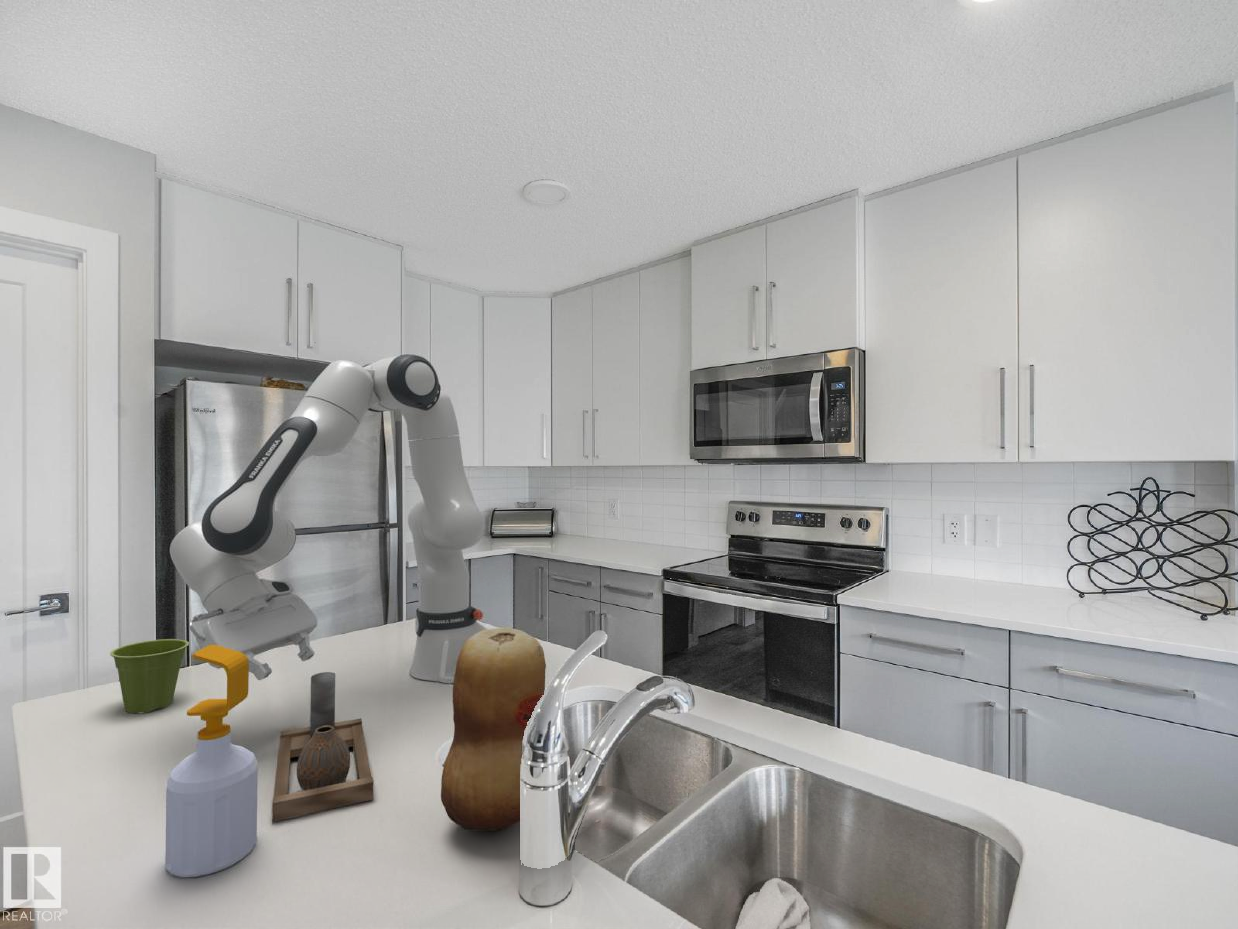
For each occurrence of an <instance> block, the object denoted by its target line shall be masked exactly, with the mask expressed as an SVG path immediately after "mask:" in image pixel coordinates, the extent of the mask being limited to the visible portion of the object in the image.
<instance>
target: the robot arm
mask: <svg viewBox="0 0 1238 929" xmlns="http://www.w3.org/2000/svg"><path fill="white" fill-rule="evenodd" d="M453 405H454V404H453V403H452V400H451V397H450V396H449V394H448V393H447V392H445V391H443V390H442V389H441V384H440V381H439V377H438V373H437V371H436V370H435V368H434V366H433V365H432V363H431V362H430V361H429V360H428V359H426V358H425V357H423V356H420V355H417V354H400V355H396V356H388V357H383V358H382V359H380V360H378V361H375V362H372V363H367V364H364V365H363V366H362V365H360V364H358V363H356V362H354V361H350V360H346V359H339V360H335V361H333V362H331V363H329V364H328V365H327V366H326V367H325V368H324V370H322V371H321V373H320V374H319V375H318V376H317V377H316V379H315V380H314V382H312V384H311V385H310V386H309V388H308V390H307V391H306V392H305V394H304V395H303V398H302V399H301V400H300V402H299V403H298V405H297V407H296V409H295V410H294V411H293V413H292V414H291V416H290V417H289V418H288V419H286V420H285V421H283V422H282V423H281V424H280V425H279V426H278V427H277V428H276V430H275V431H274V432H273V433H272V434H271V435H270V437H269V438H268V439H267V441H266V442H265V443H264V444H263V446H262V447H261V448H260V450H259V451H258V453H257V454H256V455H255V457H253V459H252V461H251V462H250V463H249V464H248V466H247V467H246V469H245V470H244V471H243V473H242V474H241V475H240V476H239V478H238V479H237V480H236V481H235V482H234V484H231V486H230V487H229V488H228V489H226V490H225V491H224V492H222V493H221V494H219V496H218V497H216V498H215V499H214V500H213V501H211V503H210V504H209V505H208V506H207V508H206V509H205V511H204V513H203V516H202V519H201V520H199V521H195V522H192V523H191V524H189V525H187V526H186V527H184V528H183V529H181V530H180V531H179V532H178V533H177V534H176V535H175V536H174V538H173V539H172V540H171V543H170V546H169V555H170V559H171V560H172V562H173V565H174V567H175V569H176V570H177V572H178V573H179V575H180V577H181V578H182V580H183V581H184V582H185V584H186V585H187V587H188V588H189V589H190V590H192V591H193V592H195V593H196V594H197V596H199V598H200V603H201V605H202V607H203V608H204V609H205V610H206V613H200V614H196V615H195V616H193V617H192V619H191V620H190V621H189V625H188V627H189V628H188V629H189V630H190V632H191V633H192V635H193V636H194V637H195V641H196V643H197V645H198V648H199V650H200V649H202V648H204V647H206V646H208V645H218V646H221V647H225V648H228V649H232V650H236V651H239V652H241V653H243V654H245V655H246V656H247V658H248V661H249V673H251V674H252V675H253V676H254V677H255V678H256V679H257V680H258V681H262V680H264V679H266V678H268V677H269V676H270V675H271V674H272V671H273V669H272V668H271V667H269V664H268V663H267V662H265V663H262V662H260V661H259V660H256V659H255V658H254V657H255V656H257V655H259V654H263V653H265V652H269V651H270V650H274V649H276V648H279V647H281V646H284V645H286V644H289V643H293V644H294V646H298V649H299V652H298V653H297V657H298V658H299V659H300V661H302V662H306V661H308V660H311V659H312V658H313V657H314V656H315V651H314V650H313V648H312V647H311V643H310V636H309V635H310V634H311V633H312V632H313V631H314V630H315V629H316V628H317V626H318V618H317V616H316V615H315V613H314V612H313V610H312V609H311V608H310V606H309V605H308V604H307V603H306V601H304V599H302V598H301V597H300V596H299V595H298V594H295V593H293V592H294V590H295V588H294V586H293V585H292V584H291V583H290V582H289V581H279V580H278V581H276V580H270V579H266V578H259V576H258V575H257V573H258V572H260V571H262V570H265V569H267V568H269V567H272V565H274V564H276V563H278V562H280V561H281V560H283V559H285V558H286V557H287V556H288V555H289V554H290V553H291V551H292V550H293V549H294V547H295V544H296V539H297V532H296V529H295V528H296V527H295V526H294V524H293V523H292V522H291V521H290V520H289V519H288V518H287V517H285V516H284V515H283V514H282V513H280V512H279V511H277V510H276V500H277V498H278V496H279V494H280V493H281V491H282V490H283V489H284V488H285V486H286V484H287V483H288V481H289V480H290V479H291V477H292V476H293V475H294V472H295V471H296V469H298V467H299V466H300V464H301V463H302V462H303V461H305V460H306V459H308V458H310V457H312V456H313V457H328V456H333V455H336V454H338V453H341V452H342V451H343V450H344V448H346V446H348V444H349V443H350V442H351V440H352V439H353V437H354V436H355V433H356V432H357V430H358V429H359V426H360V424H361V423H362V421H363V418H364V416H365V414H366V413H367V412H368V411H370V412H373V413H384V412H396V411H399V412H400V413H401V416H402V417H403V418H404V421H405V424H406V430H407V439H408V440H407V441H408V449H409V457H410V464H411V470H412V471H411V472H412V476H413V479H414V480H415V482H416V483H417V485H418V488H419V491H420V494H421V497H422V500H420V501H419V502H417V503H416V504H414V505H413V506H412V508H411V509H410V511H409V513H408V515H407V516H408V518H407V524H408V528H409V530H410V533H411V535H412V536H411V537H412V541H413V549H414V554H415V560H416V564H417V565H416V566H417V574H418V575H417V576H418V596H417V597H418V603H417V604H418V607H417V609H416V611H415V621H414V622H415V628H414V629H415V634H416V639H415V640H416V641H415V642H416V643H415V648H414V654H413V659H412V663H411V666H410V670H409V675H410V676H412V677H414V678H415V679H419V680H423V681H431V682H432V681H434V682H441V683H444V684H453V682H454V676H455V671H456V664H457V660H458V656H459V653H460V651H461V649H462V647H463V645H464V644H465V642H466V641H467V640H468V639H469V638H470V637H471V636H473V635H474V634H476V633H478V632H480V631H483V630H486V629H488V628H487V627H485V626H484V625H482V624H481V623H480V622H478V621H480V620H482V618H483V617H484V612H483V611H481V609H477V607H476V608H475V606H472V605H470V572H469V569H468V566H467V565H466V562H465V558H464V555H463V550H466V549H470V548H472V547H474V546H476V545H477V544H478V543H479V542H480V541H481V539H482V538H483V536H484V534H485V530H486V521H485V517H484V515H483V513H482V511H481V510H480V509H479V507H478V505H477V504H476V501H475V499H474V497H473V493H472V491H471V490H472V489H471V487H470V485H469V482H468V479H467V475H466V472H465V468H464V461H463V454H462V447H461V446H462V444H461V440H460V439H461V437H460V432H459V426H458V421H457V416H456V412H455V409H454V406H453ZM208 665H209V666H210V667H212V668H215V669H217V670H219V669H222V667H221V666H218V665H215V664H211V663H208Z"/></svg>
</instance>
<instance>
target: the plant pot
mask: <svg viewBox="0 0 1238 929" xmlns="http://www.w3.org/2000/svg"><path fill="white" fill-rule="evenodd" d="M189 645H190V642H189V641H188V640H185V639H177V638H168V639H167V638H165V639H153V640H146V641H140V642H135V643H129V644H126V645H123V646H119V647H117V648H115V649H113V650H112V651H110V653H109V654H110V656H111V657H113V659H114V664H115V668H116V669H117V672H118V674H117V675H118V679H119V684H120V690H121V695H122V696H121V697H122V701H123V707H124V711H125V712H128V713H132V714H139V713H140V714H141V713H150V712H153V711H155V710H156V709H159V708H161V709H163V708H166V707H168V706H169V705H171V704H172V703H173V702H174V698H175V692H176V687H177V683H178V680H179V679H178V677H179V673H180V668H181V664H182V660H183V659H184V655H185V653H186V652H185V651H186V648H188V646H189Z"/></svg>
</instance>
